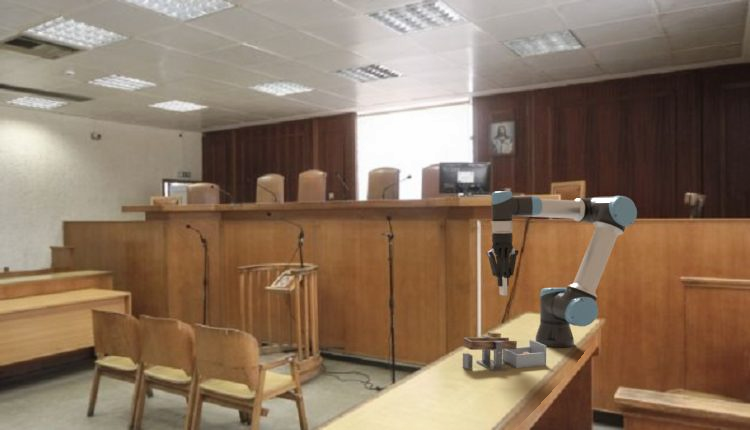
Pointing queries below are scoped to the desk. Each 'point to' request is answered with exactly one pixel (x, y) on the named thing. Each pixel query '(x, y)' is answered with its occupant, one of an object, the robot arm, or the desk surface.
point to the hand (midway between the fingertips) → (503, 294)
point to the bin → (526, 355)
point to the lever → (488, 342)
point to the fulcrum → (487, 358)
